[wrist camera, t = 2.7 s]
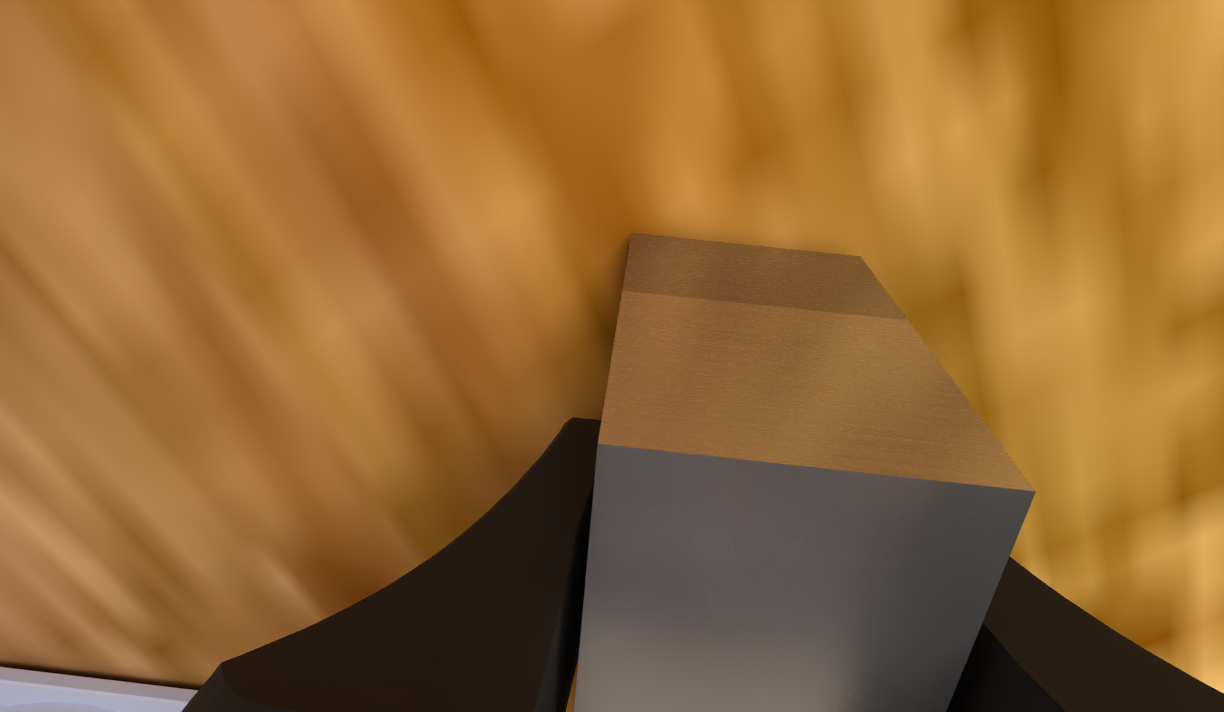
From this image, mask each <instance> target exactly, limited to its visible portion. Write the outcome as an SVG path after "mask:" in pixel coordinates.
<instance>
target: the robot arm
mask: <svg viewBox="0 0 1224 712" xmlns="http://www.w3.org/2000/svg"><path fill="white" fill-rule="evenodd" d="M600 426H601V420H593V419H583V418H574V417H573V418H571V419H570V420H569V421H567V422H566V423H565V424H564V426H563V427H562V429H561V430H560V432H559V433H558V435H557V436H556V438H555V439H554V440H553V442H552V443H551V444H550V445H549V447H548V448H547V449H546V450H545V452H544V453H543V454H542V455H541V457H540V458H539V459H538V460H537V461H536V462H535V464H534V465H533V466H532V467H531V468H530V469H529V470H528V471H527V472H526V474H525V475H524V476H523V477H522V478H521V479H520V480H519V481H518V482H517V484H516V485H515V486H514V487H513V488H512V489H511V490H510V491H509V492H508V493H507V494H506V495H505V496H503V497H502V498H501V499H500V500H499V501H498V502H497V503H496V504H495V505H494V506H493V507H492V508H491V509H490V510H489V511H488V512H487V513H486V514H485V515H484V516H482V517H481V518H480V519H479V520H478V521H477V522H476V523H474V524H473V525H472V526H471V527H470V528H469V529H467V530H466V531H465V532H464V533H463V534H461V535H460V536H459V537H458V538H456V539H455V540H454V541H452V542H451V543H450V544H448V545H447V546H446V547H445V548H443V549H442V550H441V551H439V552H438V553H437V554H435V555H434V556H432V557H431V558H429V559H428V560H426V561H425V562H424V563H422V564H421V565H419V566H418V567H416V568H415V569H413V570H412V571H410V572H409V573H407V574H405V575H404V576H402V577H401V578H399V579H398V580H396V581H395V582H393V583H391V584H390V585H388V586H387V587H385V588H383V589H381V590H380V591H378V592H376V593H374V594H372V595H370V596H369V597H367V598H365V599H363V600H361V601H359V602H358V603H356V604H354V605H352V606H350V607H348V608H346V609H344V610H342V611H340V612H338V613H336V614H334V615H332V616H330V617H328V618H326V619H324V620H322V621H320V622H318V623H316V624H313V625H311V626H309V627H307V628H305V629H303V630H300V631H298V632H295V633H293V634H291V635H288V636H286V637H283V638H281V639H279V640H276V641H274V642H272V643H269V644H267V645H264V646H262V647H260V648H257V649H255V650H252V651H250V652H248V653H245V654H243V655H240V656H238V657H235V658H232V659H230V660H227V661H224V662H222V663H221V664H220V665H219V666H218V668H217V669H216V670H215V671H214V673H213V674H212V675H211V677H210V678H209V679H208V680H207V681H206V682H205V684H204V685H203V686H202V687H201V688H200V689H199V690H192V689H183V688H175V687H166V686H158V685H150V684H141V683H133V682H124V681H116V680H108V679H99V678H91V677H83V676H74V675H66V674H57V673H49V672H41V671H32V670H24V669H15V668H7V667H0V712H565V711H566V707H567V703H568V698H569V694H570V690H571V686H572V681H573V677H574V673H575V668H576V664H577V660H578V655H579V647H580V636H581V625H582V614H583V603H584V592H585V581H586V569H587V558H588V547H589V536H590V525H591V514H592V502H593V491H594V480H595V469H596V458H597V447H598V439H599V433H600ZM946 712H1224V694H1223V693H1221V692H1219V691H1218V690H1216V689H1214V688H1212V687H1210V686H1208V685H1206V684H1204V683H1203V682H1201V681H1199V680H1197V679H1196V678H1194V677H1192V676H1190V675H1189V674H1187V673H1185V672H1183V671H1182V670H1180V669H1178V668H1176V667H1175V666H1173V665H1171V664H1169V663H1168V662H1166V661H1164V660H1163V659H1161V658H1159V657H1157V656H1156V655H1154V654H1152V653H1150V652H1149V651H1147V650H1145V649H1143V648H1142V647H1140V646H1139V645H1137V644H1135V643H1134V642H1132V641H1130V640H1129V639H1127V638H1126V637H1124V636H1122V635H1121V634H1119V633H1117V632H1116V631H1114V630H1113V629H1111V628H1110V627H1108V626H1107V625H1105V624H1104V623H1102V622H1101V621H1099V620H1098V619H1096V618H1095V617H1093V616H1092V615H1090V614H1089V613H1087V612H1086V611H1084V610H1083V609H1081V608H1080V607H1078V606H1077V605H1075V604H1074V603H1072V602H1071V601H1069V600H1068V599H1066V598H1065V597H1063V596H1062V595H1060V594H1059V593H1058V592H1056V591H1055V590H1053V589H1052V588H1051V587H1049V586H1048V585H1046V584H1045V583H1044V582H1042V581H1041V580H1040V579H1038V578H1037V577H1036V576H1034V575H1033V574H1032V573H1030V572H1029V571H1028V570H1027V569H1025V568H1024V567H1023V566H1021V565H1020V564H1019V563H1017V562H1016V561H1015V560H1014V559H1012V558H1011V557H1010V556H1009V558H1008V561H1007V563H1006V566H1005V568H1004V571H1003V573H1002V576H1001V578H1000V581H999V583H998V586H997V588H996V590H995V593H994V595H993V598H992V600H991V603H990V605H989V608H988V610H987V613H986V615H985V617H984V620H983V622H982V625H981V627H980V630H979V632H978V635H977V637H976V640H975V642H974V644H973V647H972V649H971V652H970V654H969V657H968V659H967V662H966V664H965V667H964V669H963V671H962V674H961V676H960V679H959V681H958V684H957V686H956V689H955V691H954V694H953V696H952V698H951V701H950V703H949V706H948V708H947V711H946Z"/></svg>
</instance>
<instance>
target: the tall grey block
mask: <svg viewBox="0 0 1224 712" xmlns="http://www.w3.org/2000/svg"><path fill="white" fill-rule="evenodd" d="M1035 492H1036V491H1035V490H1034V488H1033V487H1032V486H1031V484H1030V483H1029V482H1028V480H1027V479H1026V478H1025V476H1024V475H1023V474H1022V472H1021V471H1020V470H1019V468H1018V467H1017V466H1016V464H1015V463H1014V462H1013V460H1012V459H1011V458H1010V456H1009V455H1008V454H1007V452H1006V451H1005V449H1004V448H1003V447H1002V445H1001V444H1000V443H999V441H998V440H997V439H996V437H995V436H994V435H993V433H992V432H991V431H990V429H989V428H988V427H987V425H986V424H985V423H984V421H983V420H982V419H981V417H980V416H979V415H978V413H977V412H976V411H975V409H974V408H973V407H972V405H971V404H970V403H969V401H968V400H967V399H966V397H965V396H964V395H963V393H962V392H961V391H960V389H959V388H958V387H957V385H956V384H955V383H954V381H953V380H952V379H951V377H950V376H949V375H948V373H947V372H946V371H945V369H944V368H943V367H942V365H941V364H940V363H939V361H938V360H937V358H936V357H935V356H934V354H933V353H932V352H931V350H930V349H929V348H928V346H927V345H926V344H925V342H924V341H923V340H922V338H921V337H920V336H919V334H918V333H917V332H916V330H915V329H914V328H913V326H912V325H911V324H910V322H909V321H908V320H907V318H906V317H905V316H904V314H903V313H902V312H901V310H900V309H899V308H898V306H897V305H896V304H895V302H894V301H893V300H892V298H891V297H890V296H889V294H888V293H887V292H886V290H885V289H884V288H883V286H882V285H881V284H880V282H879V281H878V280H877V278H876V277H875V276H874V274H873V273H872V271H871V270H870V269H869V267H868V266H867V265H866V263H865V262H864V261H863V259H862V258H861V257H860V256H850V255H840V254H830V253H820V252H811V251H801V250H791V249H781V248H771V247H761V246H752V245H742V244H732V243H722V242H712V241H703V240H693V239H683V238H673V237H663V236H653V235H644V234H634V233H631V238H630V245H629V251H628V257H627V264H626V270H625V276H624V282H623V289H622V295H621V301H620V307H619V314H618V320H617V326H616V332H615V339H614V345H613V351H612V358H611V364H610V370H609V376H608V383H607V389H606V395H605V401H604V408H603V414H602V420H601V426H600V433H599V439H598V447H597V458H596V469H595V480H594V491H593V502H592V514H591V525H590V536H589V547H588V558H587V569H586V581H585V592H584V603H583V614H582V625H581V636H580V647H579V659H578V670H577V681H576V692H575V703H574V712H946V711H947V708H948V706H949V703H950V701H951V698H952V696H953V694H954V691H955V689H956V686H957V684H958V681H959V679H960V676H961V674H962V671H963V669H964V667H965V664H966V662H967V659H968V657H969V654H970V652H971V649H972V647H973V644H974V642H975V640H976V637H977V635H978V632H979V630H980V627H981V625H982V622H983V620H984V617H985V615H986V613H987V610H988V608H989V605H990V603H991V600H992V598H993V595H994V593H995V590H996V588H997V586H998V583H999V581H1000V578H1001V576H1002V573H1003V571H1004V568H1005V566H1006V563H1007V561H1008V558H1009V556H1010V554H1011V551H1012V549H1013V546H1014V544H1015V541H1016V539H1017V536H1018V534H1019V531H1020V529H1021V527H1022V524H1023V522H1024V519H1025V517H1026V514H1027V512H1028V509H1029V507H1030V504H1031V502H1032V500H1033V497H1034V495H1035Z"/></svg>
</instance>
